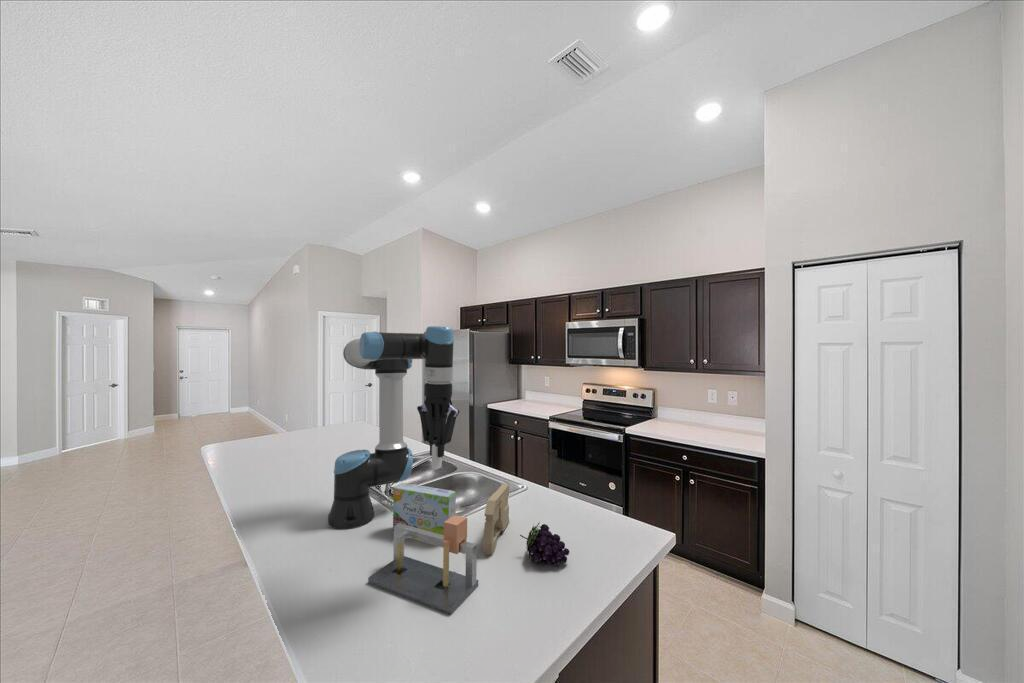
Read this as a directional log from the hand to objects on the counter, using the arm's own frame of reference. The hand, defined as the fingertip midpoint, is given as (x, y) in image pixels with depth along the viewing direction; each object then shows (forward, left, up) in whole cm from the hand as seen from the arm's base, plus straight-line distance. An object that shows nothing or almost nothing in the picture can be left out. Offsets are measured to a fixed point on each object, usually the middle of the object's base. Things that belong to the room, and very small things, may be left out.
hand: (436, 468), depth 104 cm
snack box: (-16, +15, -28) cm, 36 cm away
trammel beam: (+1, -4, -28) cm, 28 cm away
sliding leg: (+8, -3, -26) cm, 28 cm away
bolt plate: (+1, -6, -28) cm, 29 cm away
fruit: (+24, +19, -28) cm, 42 cm away
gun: (+6, +25, -28) cm, 38 cm away
